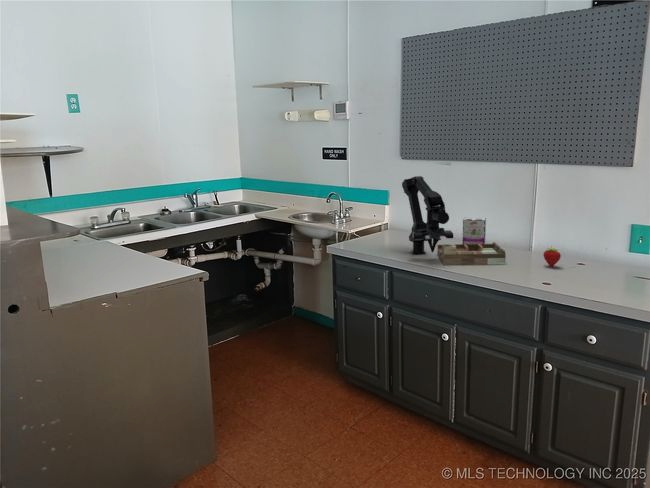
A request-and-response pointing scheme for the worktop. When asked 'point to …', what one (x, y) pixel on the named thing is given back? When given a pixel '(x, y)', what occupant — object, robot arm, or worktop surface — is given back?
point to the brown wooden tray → (473, 254)
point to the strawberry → (552, 256)
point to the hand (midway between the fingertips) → (432, 251)
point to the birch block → (449, 249)
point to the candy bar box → (474, 230)
